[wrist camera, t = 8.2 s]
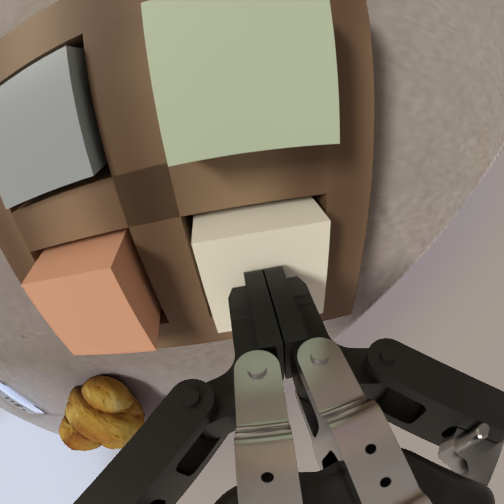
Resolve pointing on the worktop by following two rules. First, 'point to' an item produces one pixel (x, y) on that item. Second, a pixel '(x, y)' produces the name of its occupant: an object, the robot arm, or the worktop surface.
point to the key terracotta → (96, 295)
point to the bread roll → (100, 415)
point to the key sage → (241, 75)
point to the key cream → (260, 248)
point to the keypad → (188, 164)
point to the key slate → (48, 127)
